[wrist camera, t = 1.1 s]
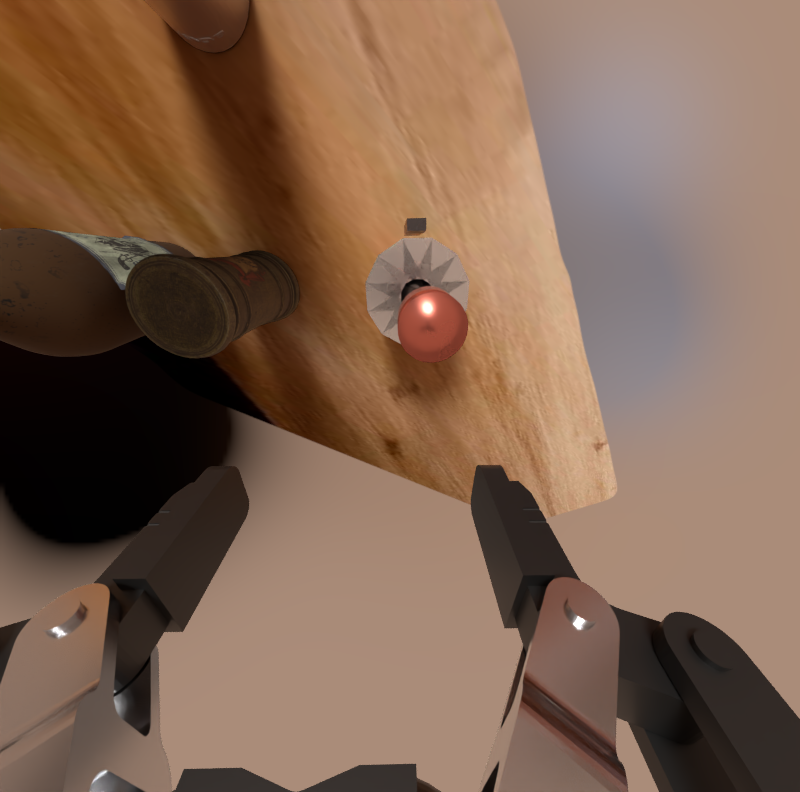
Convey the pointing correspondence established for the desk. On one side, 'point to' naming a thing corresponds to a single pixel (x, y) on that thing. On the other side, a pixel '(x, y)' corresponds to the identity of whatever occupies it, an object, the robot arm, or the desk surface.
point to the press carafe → (411, 275)
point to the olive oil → (69, 289)
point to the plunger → (430, 322)
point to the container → (208, 299)
